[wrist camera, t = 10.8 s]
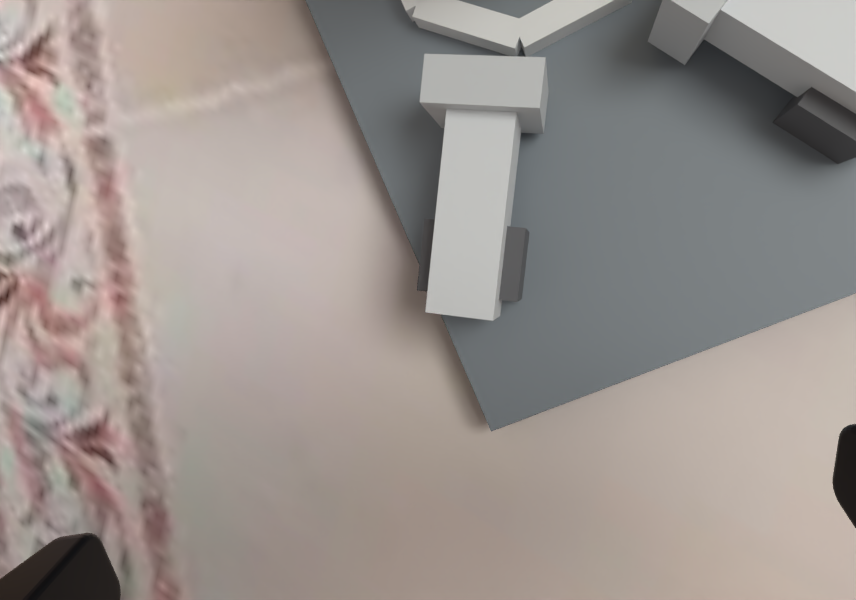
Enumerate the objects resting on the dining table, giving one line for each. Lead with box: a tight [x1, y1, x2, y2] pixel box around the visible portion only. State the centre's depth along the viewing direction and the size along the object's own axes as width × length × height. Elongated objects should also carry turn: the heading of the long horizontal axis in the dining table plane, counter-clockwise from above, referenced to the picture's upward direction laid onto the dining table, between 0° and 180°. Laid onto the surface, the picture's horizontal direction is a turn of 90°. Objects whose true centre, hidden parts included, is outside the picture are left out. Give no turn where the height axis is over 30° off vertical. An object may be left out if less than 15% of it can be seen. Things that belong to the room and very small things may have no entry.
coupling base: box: [306, 0, 856, 431], centre depth 16 cm, size 20×14×4 cm
